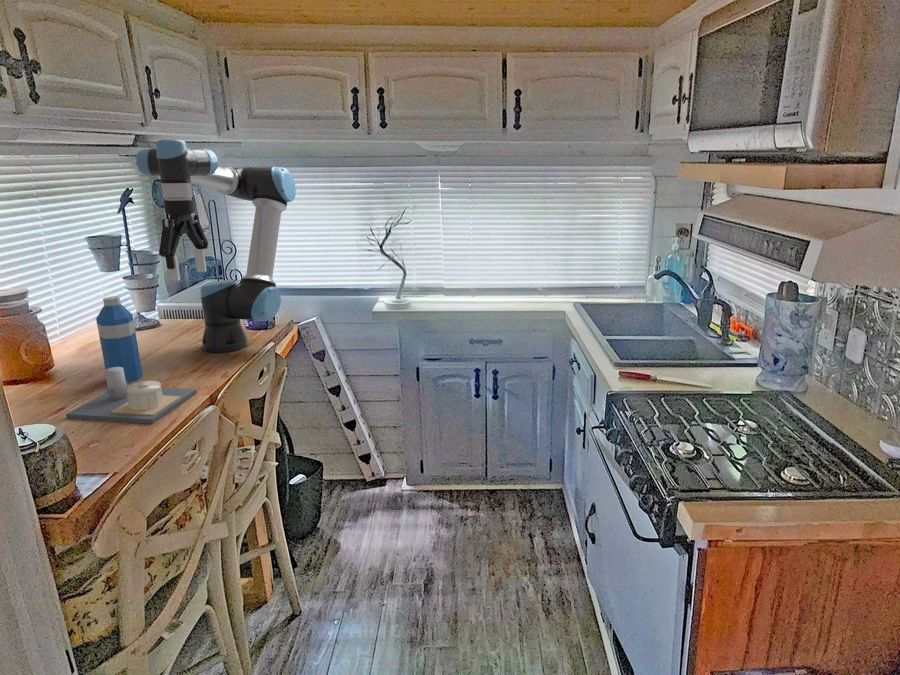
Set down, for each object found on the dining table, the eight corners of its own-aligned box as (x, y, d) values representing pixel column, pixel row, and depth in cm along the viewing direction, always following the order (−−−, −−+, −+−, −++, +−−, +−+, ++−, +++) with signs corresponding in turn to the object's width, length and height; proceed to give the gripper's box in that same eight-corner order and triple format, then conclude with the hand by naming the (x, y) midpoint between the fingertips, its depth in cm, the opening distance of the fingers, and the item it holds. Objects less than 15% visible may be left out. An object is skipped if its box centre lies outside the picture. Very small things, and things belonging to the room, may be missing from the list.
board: (119, 389, 167) (114, 358, 165) (197, 393, 164) (192, 362, 162) (66, 418, 148) (59, 384, 146) (153, 423, 145) (147, 389, 143)
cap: (164, 396, 158) (161, 376, 157) (162, 407, 151) (158, 386, 150) (131, 400, 155) (127, 380, 154) (127, 412, 148) (123, 391, 147)
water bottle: (143, 380, 174) (129, 299, 167) (107, 386, 169) (92, 303, 162) (141, 371, 182) (128, 293, 174) (107, 376, 177) (92, 296, 170)
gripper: (191, 196, 171) (200, 267, 177) (136, 202, 147) (149, 284, 154) (214, 196, 170) (223, 268, 176) (163, 202, 146) (175, 284, 153)
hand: (188, 275), depth 165 cm, fingers open, 13 cm apart
